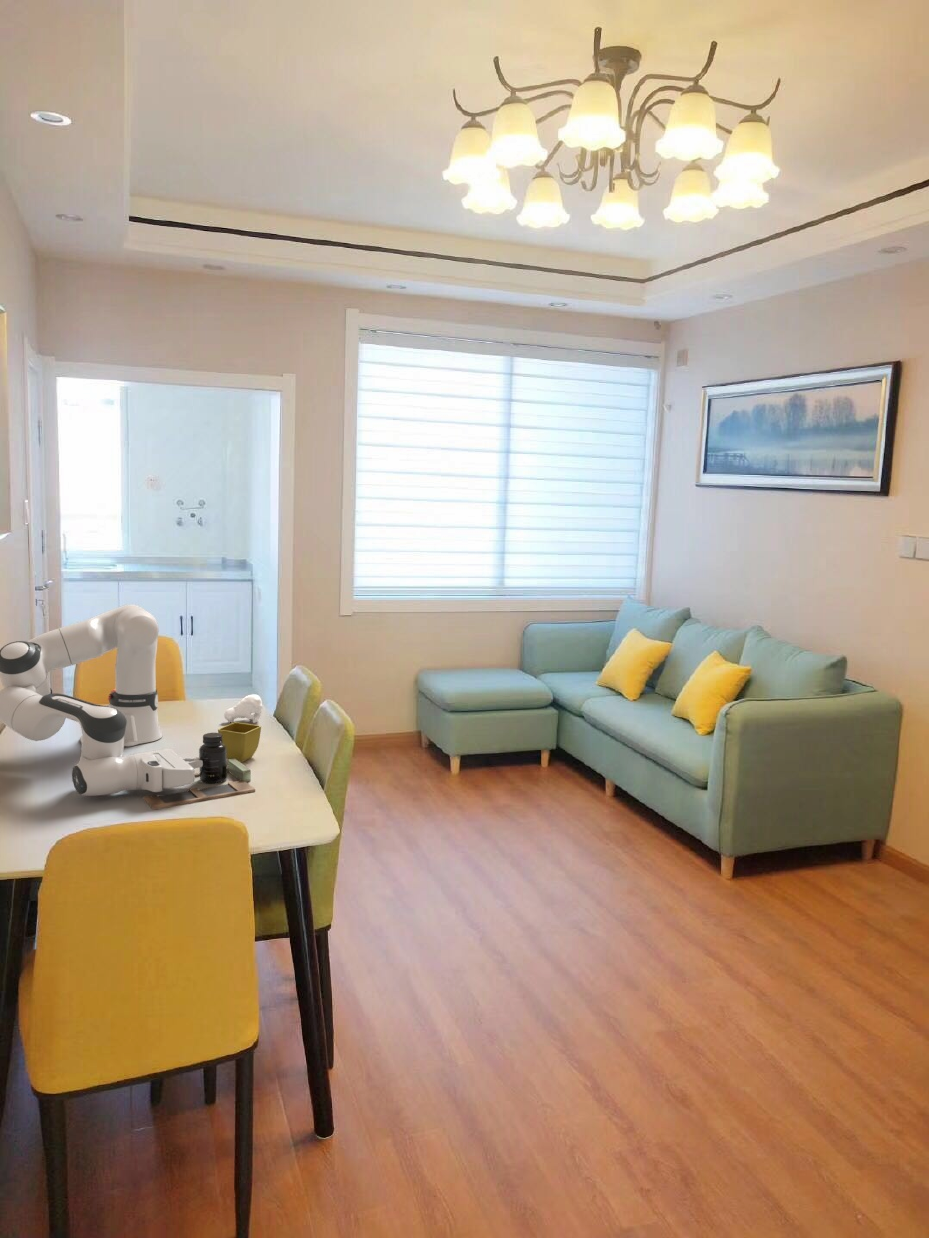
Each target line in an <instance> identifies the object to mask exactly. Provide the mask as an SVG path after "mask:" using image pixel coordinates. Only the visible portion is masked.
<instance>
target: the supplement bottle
mask: <svg viewBox="0 0 929 1238" xmlns="http://www.w3.org/2000/svg"><path fill="white" fill-rule="evenodd" d="M222 742H223V739H222V734H221V733H218V732H208V733H205V734H203V735H202V743H203V744H201V746H200V747H199V749H198V758H199V759H201V760H202V761H203V766H202V767H199V773H200V776H199V780H200V782H201V783H203V784H208V785H215V784H220V783H223V782H225V781H226V780H227V779H228V772H227V768H228V759H227V749H226V746H225V745H224V744H222Z"/></svg>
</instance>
